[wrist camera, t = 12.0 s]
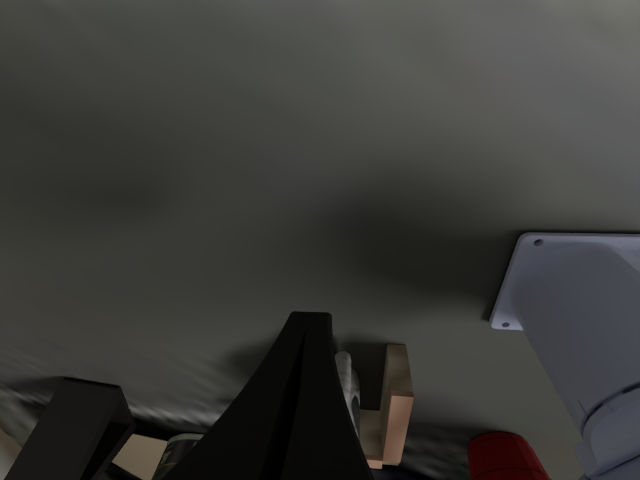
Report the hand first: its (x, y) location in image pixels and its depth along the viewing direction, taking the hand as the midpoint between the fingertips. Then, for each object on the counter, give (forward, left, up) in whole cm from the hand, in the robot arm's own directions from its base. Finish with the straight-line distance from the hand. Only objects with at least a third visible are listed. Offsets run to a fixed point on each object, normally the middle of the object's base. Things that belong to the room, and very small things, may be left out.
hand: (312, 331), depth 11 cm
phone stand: (+27, +26, -10) cm, 38 cm away
